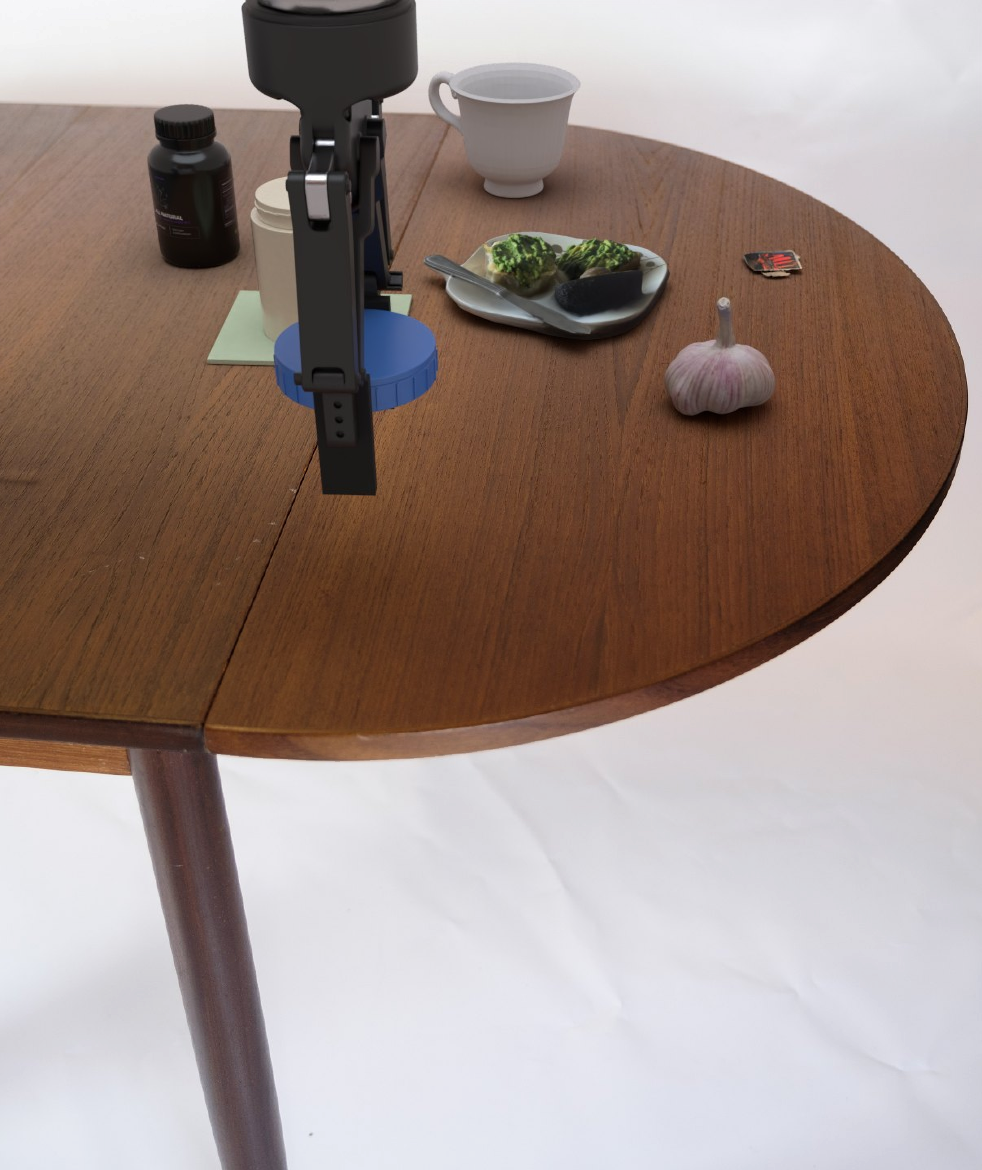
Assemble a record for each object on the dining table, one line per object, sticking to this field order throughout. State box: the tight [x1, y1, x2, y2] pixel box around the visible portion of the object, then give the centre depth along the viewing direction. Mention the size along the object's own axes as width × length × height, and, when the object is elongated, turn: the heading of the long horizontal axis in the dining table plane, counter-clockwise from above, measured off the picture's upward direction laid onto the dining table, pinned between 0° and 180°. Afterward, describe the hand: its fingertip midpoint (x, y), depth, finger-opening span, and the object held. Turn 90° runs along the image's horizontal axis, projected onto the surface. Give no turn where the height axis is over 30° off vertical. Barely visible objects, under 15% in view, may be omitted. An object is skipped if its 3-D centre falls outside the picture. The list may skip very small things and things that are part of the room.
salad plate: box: [423, 231, 671, 341], centre depth 103 cm, size 19×18×5 cm
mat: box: [206, 289, 413, 367], centre depth 99 cm, size 14×12×1 cm
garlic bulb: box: [664, 296, 776, 416], centre depth 87 cm, size 8×7×8 cm
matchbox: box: [742, 249, 803, 278], centre depth 108 cm, size 5×5×1 cm
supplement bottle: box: [146, 103, 241, 269], centre depth 107 cm, size 7×7×12 cm
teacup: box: [427, 62, 581, 199], centre depth 121 cm, size 12×15×10 cm
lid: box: [273, 309, 439, 413], centre depth 65 cm, size 8×8×2 cm
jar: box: [249, 176, 298, 342], centre depth 95 cm, size 8×8×10 cm
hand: (361, 445), depth 69 cm, fingers closed on lid, 8 cm apart
